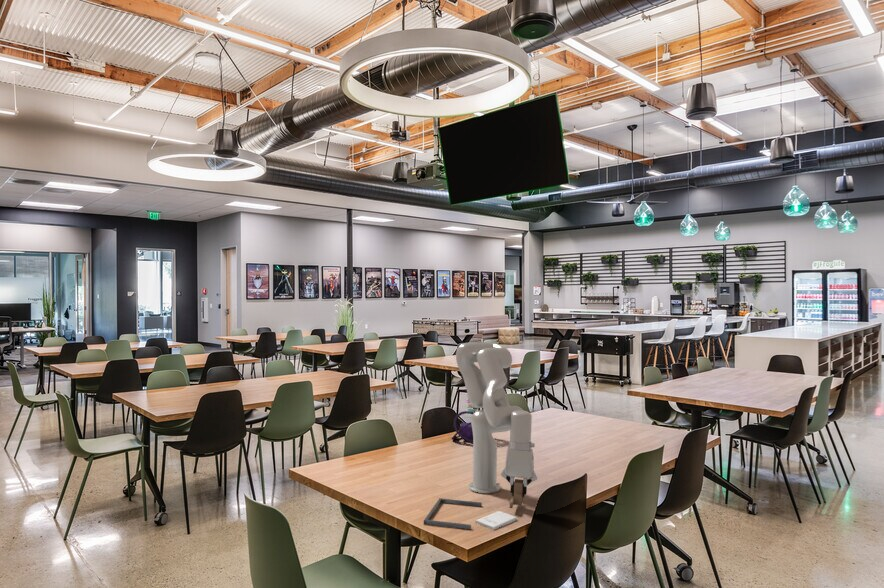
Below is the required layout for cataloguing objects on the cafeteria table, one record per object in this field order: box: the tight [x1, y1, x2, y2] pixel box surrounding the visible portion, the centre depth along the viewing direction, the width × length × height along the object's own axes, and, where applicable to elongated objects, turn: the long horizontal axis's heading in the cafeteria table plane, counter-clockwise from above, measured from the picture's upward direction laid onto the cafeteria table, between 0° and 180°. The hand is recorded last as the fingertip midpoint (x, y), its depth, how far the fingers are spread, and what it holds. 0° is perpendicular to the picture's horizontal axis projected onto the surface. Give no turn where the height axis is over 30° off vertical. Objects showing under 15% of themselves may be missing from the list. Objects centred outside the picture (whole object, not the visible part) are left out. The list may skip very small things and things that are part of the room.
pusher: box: [508, 478, 524, 509], centre depth 197 cm, size 11×4×8 cm, turn 166°
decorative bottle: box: [451, 396, 477, 444], centre depth 296 cm, size 22×21×25 cm
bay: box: [423, 498, 483, 530], centre depth 190 cm, size 22×16×1 cm
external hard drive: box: [474, 510, 518, 531], centre depth 185 cm, size 2×8×12 cm
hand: (518, 495), depth 197 cm, fingers closed on pusher, 3 cm apart
